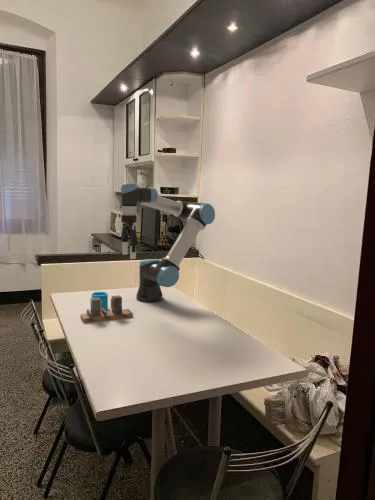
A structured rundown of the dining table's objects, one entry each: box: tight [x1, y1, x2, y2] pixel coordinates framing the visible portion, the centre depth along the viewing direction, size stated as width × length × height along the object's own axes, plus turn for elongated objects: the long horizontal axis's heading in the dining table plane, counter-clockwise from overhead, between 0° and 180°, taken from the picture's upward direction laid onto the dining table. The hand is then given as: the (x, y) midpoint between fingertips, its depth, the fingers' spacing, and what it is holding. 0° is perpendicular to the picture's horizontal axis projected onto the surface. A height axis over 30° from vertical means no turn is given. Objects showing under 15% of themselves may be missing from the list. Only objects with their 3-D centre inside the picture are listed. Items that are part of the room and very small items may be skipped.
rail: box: [80, 295, 134, 324], centre depth 191 cm, size 24×7×10 cm, turn 116°
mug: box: [91, 291, 109, 311], centre depth 206 cm, size 12×8×8 cm
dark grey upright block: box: [89, 297, 102, 317], centre depth 188 cm, size 5×4×8 cm
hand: (128, 256), depth 198 cm, fingers open, 13 cm apart
